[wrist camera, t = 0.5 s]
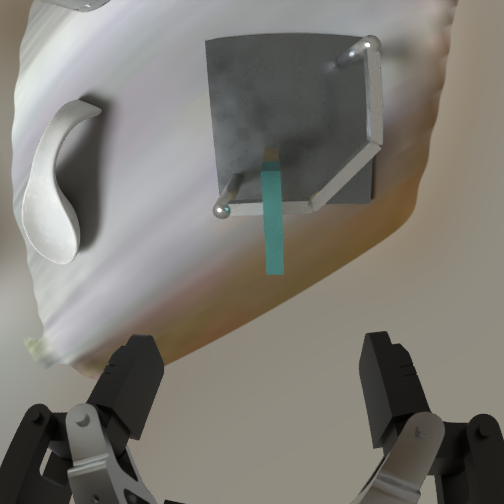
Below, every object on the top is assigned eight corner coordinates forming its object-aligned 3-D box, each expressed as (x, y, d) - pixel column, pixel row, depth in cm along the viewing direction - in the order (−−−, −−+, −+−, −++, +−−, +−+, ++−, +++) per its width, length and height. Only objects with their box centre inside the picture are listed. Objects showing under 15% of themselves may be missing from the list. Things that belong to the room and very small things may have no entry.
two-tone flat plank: (265, 148, 27) (260, 171, 17) (277, 147, 26) (280, 170, 17) (269, 218, 30) (266, 274, 21) (280, 218, 30) (283, 274, 21)
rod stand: (207, 42, 24) (177, 16, 15) (365, 40, 23) (404, 16, 13) (222, 204, 33) (202, 245, 24) (367, 200, 32) (401, 240, 22)
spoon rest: (85, 265, 39) (61, 292, 33) (34, 234, 37) (7, 254, 31) (125, 116, 29) (92, 121, 22) (60, 91, 27) (24, 95, 20)
